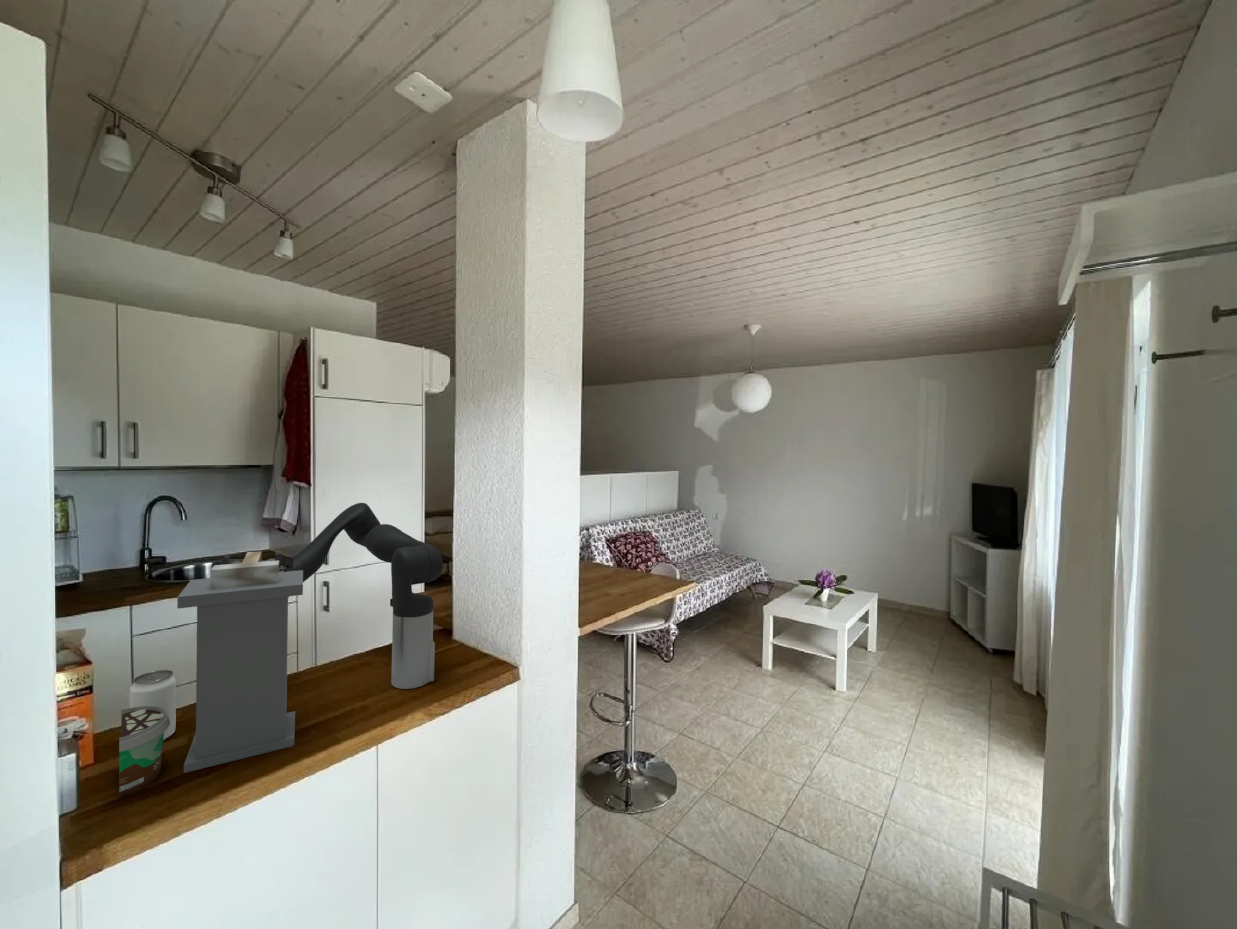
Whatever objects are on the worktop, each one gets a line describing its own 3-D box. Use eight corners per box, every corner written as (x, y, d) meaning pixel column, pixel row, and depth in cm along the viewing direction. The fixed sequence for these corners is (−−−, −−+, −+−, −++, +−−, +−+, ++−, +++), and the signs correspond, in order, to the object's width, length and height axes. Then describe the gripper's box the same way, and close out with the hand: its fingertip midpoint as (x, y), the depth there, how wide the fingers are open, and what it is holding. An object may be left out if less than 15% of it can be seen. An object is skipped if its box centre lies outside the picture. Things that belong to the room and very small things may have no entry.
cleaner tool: (281, 560, 111) (282, 545, 111) (278, 583, 94) (278, 564, 94) (225, 565, 105) (225, 549, 105) (210, 589, 88) (210, 570, 88)
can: (147, 750, 91) (147, 686, 91) (120, 744, 92) (120, 681, 92) (184, 730, 97) (184, 671, 97) (158, 726, 99) (158, 667, 98)
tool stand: (300, 714, 104) (303, 570, 104) (300, 744, 94) (302, 584, 93) (189, 739, 95) (191, 579, 94) (176, 775, 85) (177, 597, 84)
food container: (171, 784, 83) (171, 725, 82) (118, 801, 78) (119, 739, 78) (168, 750, 91) (168, 697, 91) (120, 764, 87) (121, 708, 87)
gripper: (293, 592, 118) (292, 572, 106) (216, 600, 110) (206, 579, 98) (293, 562, 121) (293, 539, 109) (219, 568, 113) (210, 544, 101)
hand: (252, 558), depth 103 cm, fingers open, 8 cm apart
